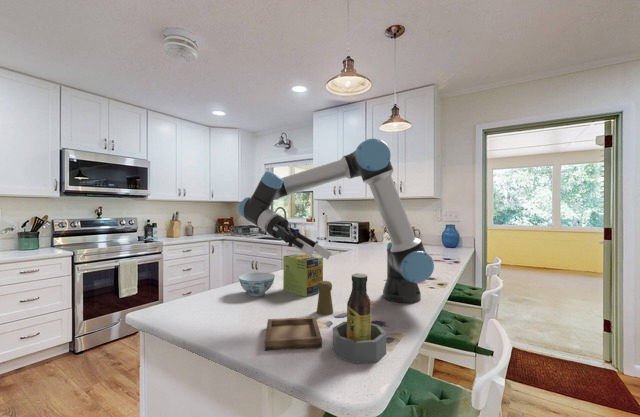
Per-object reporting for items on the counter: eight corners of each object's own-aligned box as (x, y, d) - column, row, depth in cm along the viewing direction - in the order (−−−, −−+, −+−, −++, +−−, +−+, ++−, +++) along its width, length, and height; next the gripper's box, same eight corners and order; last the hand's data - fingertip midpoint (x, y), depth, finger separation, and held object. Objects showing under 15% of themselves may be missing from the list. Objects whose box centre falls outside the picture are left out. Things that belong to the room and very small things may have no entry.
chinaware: (231, 296, 122) (231, 278, 122) (255, 287, 135) (255, 271, 135) (259, 301, 115) (259, 282, 115) (281, 291, 128) (281, 274, 128)
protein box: (306, 297, 120) (306, 260, 120) (282, 290, 131) (282, 255, 131) (323, 292, 128) (323, 257, 128) (299, 285, 139) (299, 253, 138)
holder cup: (374, 337, 84) (375, 320, 84) (391, 361, 71) (391, 340, 71) (330, 339, 82) (330, 322, 82) (339, 364, 69) (339, 344, 69)
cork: (331, 316, 100) (331, 284, 100) (314, 314, 101) (314, 283, 101) (334, 309, 106) (334, 279, 106) (318, 308, 107) (318, 279, 107)
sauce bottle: (344, 344, 79) (344, 271, 79) (367, 343, 80) (367, 271, 80) (349, 356, 73) (349, 277, 73) (373, 355, 73) (373, 277, 73)
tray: (315, 324, 92) (315, 316, 92) (321, 347, 78) (321, 338, 78) (267, 327, 91) (267, 319, 91) (264, 350, 76) (264, 341, 76)
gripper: (286, 238, 112) (330, 266, 103) (246, 227, 90) (296, 262, 80) (296, 221, 112) (340, 247, 103) (257, 206, 90) (309, 238, 80)
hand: (321, 254), depth 91 cm, fingers open, 13 cm apart
